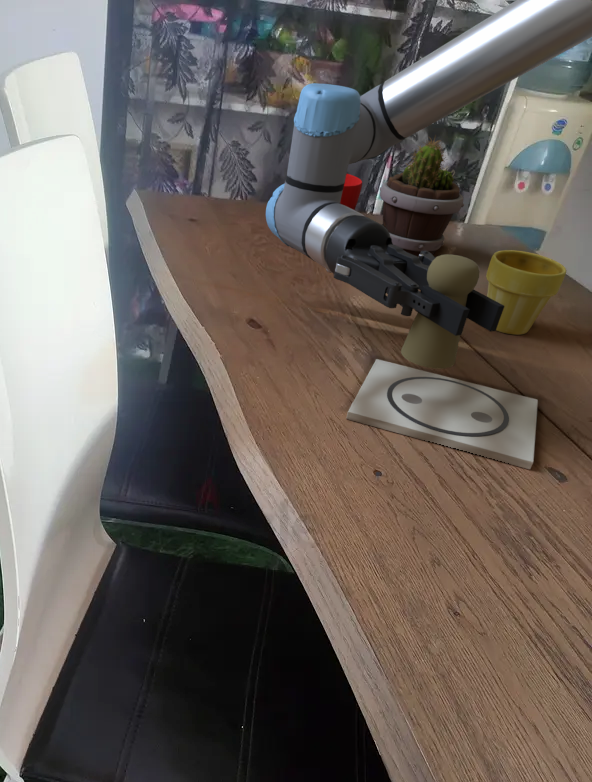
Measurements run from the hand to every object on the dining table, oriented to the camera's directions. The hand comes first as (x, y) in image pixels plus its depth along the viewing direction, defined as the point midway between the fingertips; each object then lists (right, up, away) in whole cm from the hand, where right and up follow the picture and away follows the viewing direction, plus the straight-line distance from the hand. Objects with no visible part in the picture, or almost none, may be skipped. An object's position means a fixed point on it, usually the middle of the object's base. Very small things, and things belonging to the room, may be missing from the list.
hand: (479, 320), depth 75 cm
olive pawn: (-3, -2, +8) cm, 9 cm away
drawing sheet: (0, -8, +11) cm, 14 cm away
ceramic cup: (-8, +33, +65) cm, 74 cm away
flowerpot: (+10, +30, +64) cm, 71 cm away
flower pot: (+17, +8, +36) cm, 41 cm away
